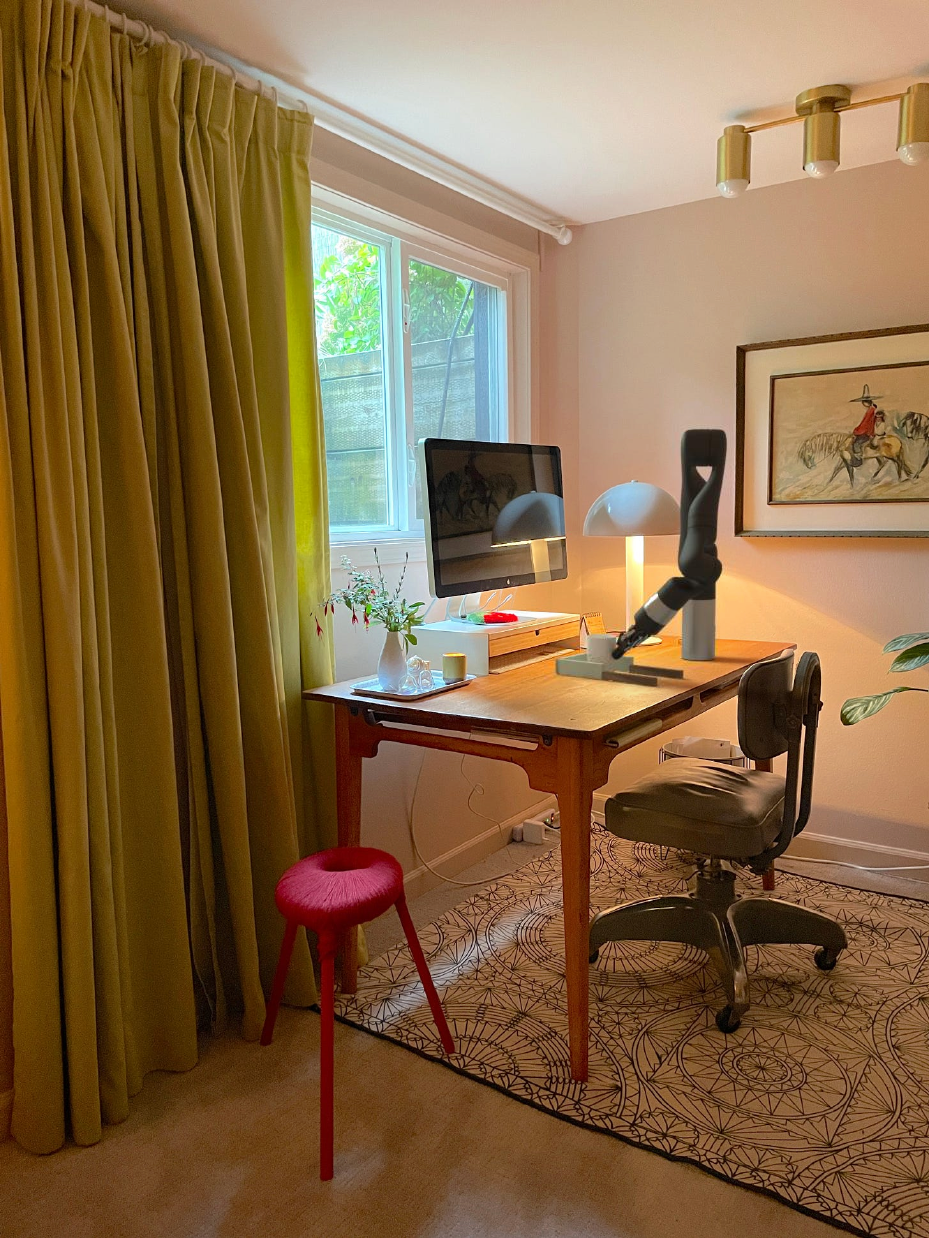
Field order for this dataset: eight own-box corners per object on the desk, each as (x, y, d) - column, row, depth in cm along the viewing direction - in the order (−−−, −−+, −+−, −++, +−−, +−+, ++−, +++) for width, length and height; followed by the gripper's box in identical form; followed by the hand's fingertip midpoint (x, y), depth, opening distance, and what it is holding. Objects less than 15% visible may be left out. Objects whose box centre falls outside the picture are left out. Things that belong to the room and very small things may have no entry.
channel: (632, 671, 249) (632, 664, 249) (683, 678, 239) (683, 670, 239) (601, 679, 238) (601, 671, 238) (654, 686, 228) (654, 678, 228)
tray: (588, 666, 259) (588, 651, 258) (633, 671, 249) (633, 656, 249) (555, 673, 247) (555, 658, 247) (601, 679, 238) (601, 664, 237)
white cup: (579, 673, 248) (579, 635, 247) (602, 670, 252) (602, 633, 251) (599, 677, 241) (599, 638, 240) (622, 674, 246) (623, 636, 244)
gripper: (660, 599, 241) (619, 643, 250) (633, 603, 231) (591, 649, 240) (679, 621, 238) (636, 665, 247) (652, 626, 228) (609, 671, 237)
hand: (614, 657), depth 243 cm, fingers closed
